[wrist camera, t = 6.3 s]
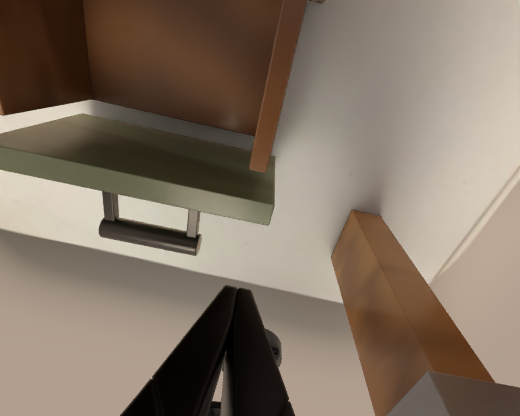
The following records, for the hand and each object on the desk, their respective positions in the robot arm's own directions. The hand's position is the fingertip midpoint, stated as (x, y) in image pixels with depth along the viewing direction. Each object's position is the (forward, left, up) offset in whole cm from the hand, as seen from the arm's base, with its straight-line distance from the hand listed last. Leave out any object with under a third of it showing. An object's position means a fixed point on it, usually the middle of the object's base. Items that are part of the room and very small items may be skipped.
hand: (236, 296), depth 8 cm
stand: (-5, -9, -13) cm, 16 cm away
